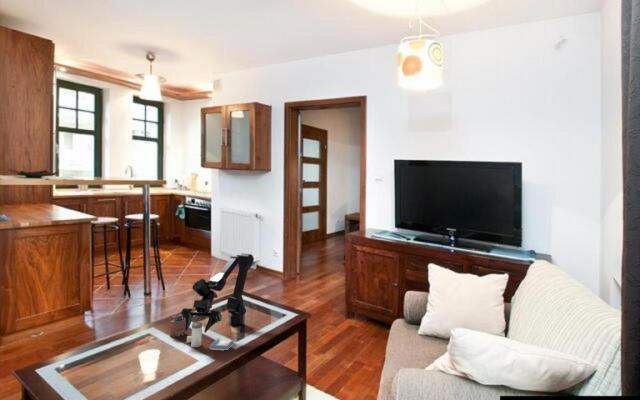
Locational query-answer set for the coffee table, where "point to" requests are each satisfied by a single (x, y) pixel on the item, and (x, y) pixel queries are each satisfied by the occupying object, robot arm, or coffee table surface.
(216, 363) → the coffee table surface
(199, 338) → the white cylinder
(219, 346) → the blue bay
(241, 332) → the coffee table surface
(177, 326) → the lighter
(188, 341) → the duct rail
